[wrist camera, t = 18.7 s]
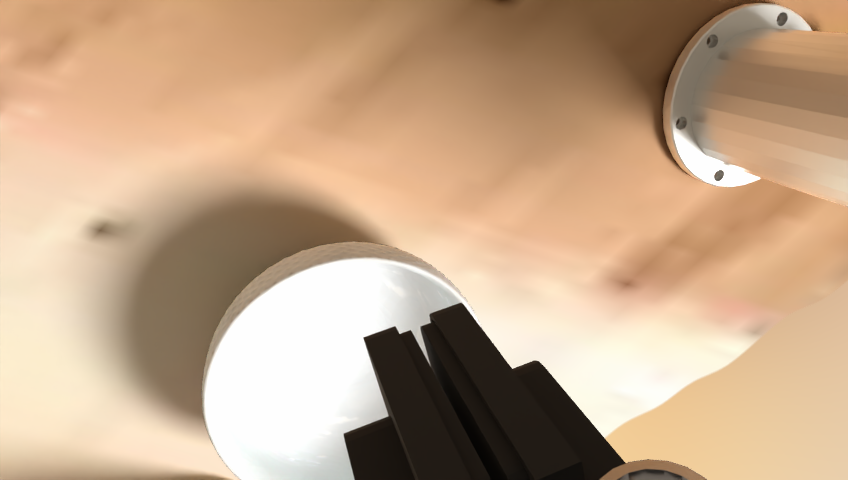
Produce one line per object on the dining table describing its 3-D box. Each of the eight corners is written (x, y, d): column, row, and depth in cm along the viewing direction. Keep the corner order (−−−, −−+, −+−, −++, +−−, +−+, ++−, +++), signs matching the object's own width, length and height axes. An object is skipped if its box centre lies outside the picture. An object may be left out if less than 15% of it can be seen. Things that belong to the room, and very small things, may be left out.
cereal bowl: (147, 301, 39) (134, 361, 32) (389, 168, 40) (421, 201, 34) (288, 483, 46) (300, 560, 40) (488, 364, 48) (530, 421, 41)
